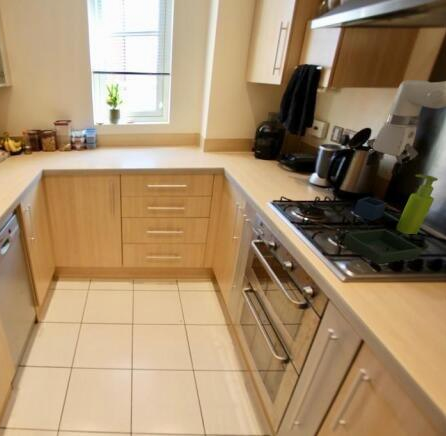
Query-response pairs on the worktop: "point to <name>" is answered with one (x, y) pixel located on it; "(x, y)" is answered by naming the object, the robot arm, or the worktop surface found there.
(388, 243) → the big bin
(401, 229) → the soap dispenser
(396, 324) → the worktop surface
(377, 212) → the small bin
